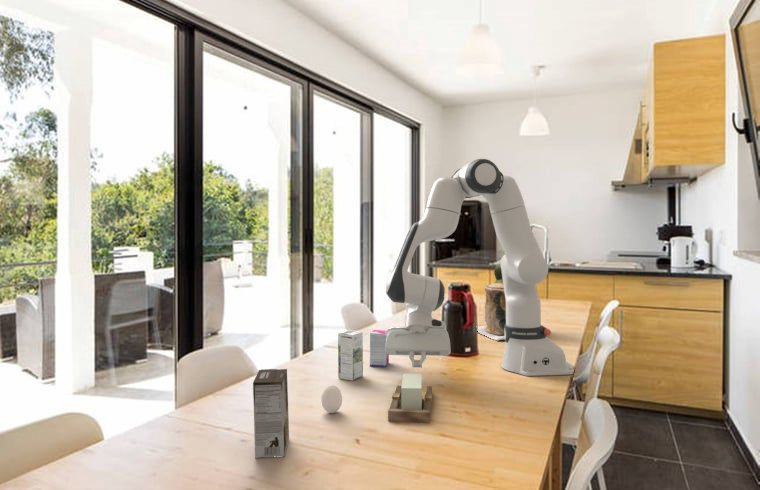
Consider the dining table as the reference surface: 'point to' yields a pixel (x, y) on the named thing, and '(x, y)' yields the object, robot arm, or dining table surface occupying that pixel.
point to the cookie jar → (495, 308)
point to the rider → (412, 391)
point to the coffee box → (271, 413)
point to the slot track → (410, 414)
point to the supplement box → (378, 349)
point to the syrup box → (350, 355)
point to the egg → (331, 398)
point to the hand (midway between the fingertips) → (417, 366)
